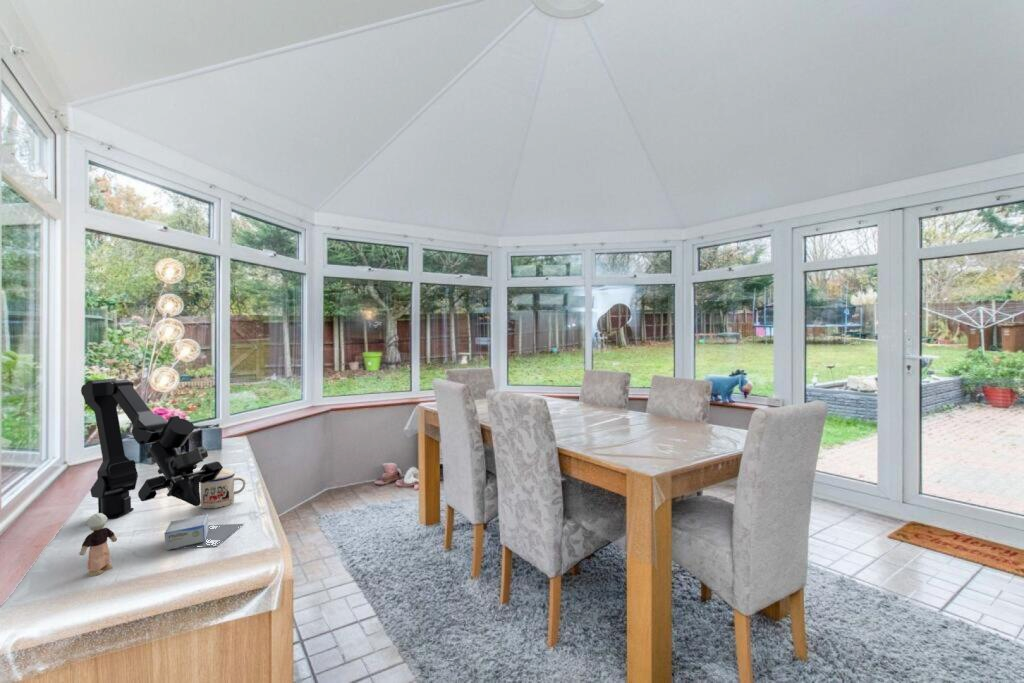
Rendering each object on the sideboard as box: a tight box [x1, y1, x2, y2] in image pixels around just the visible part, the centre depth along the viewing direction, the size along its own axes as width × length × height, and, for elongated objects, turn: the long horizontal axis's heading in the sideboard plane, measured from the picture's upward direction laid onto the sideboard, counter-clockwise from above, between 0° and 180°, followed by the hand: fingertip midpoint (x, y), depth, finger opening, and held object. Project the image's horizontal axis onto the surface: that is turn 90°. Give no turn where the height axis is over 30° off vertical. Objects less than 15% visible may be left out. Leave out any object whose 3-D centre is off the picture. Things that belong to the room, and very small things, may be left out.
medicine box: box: [163, 513, 209, 551], centre depth 115 cm, size 8×4×9 cm
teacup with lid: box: [199, 467, 247, 509], centre depth 142 cm, size 12×9×12 cm
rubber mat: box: [178, 523, 244, 549], centre depth 118 cm, size 9×13×1 cm
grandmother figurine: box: [78, 513, 118, 577], centre depth 100 cm, size 8×4×13 cm, turn 5°
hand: (198, 505), depth 120 cm, fingers closed
